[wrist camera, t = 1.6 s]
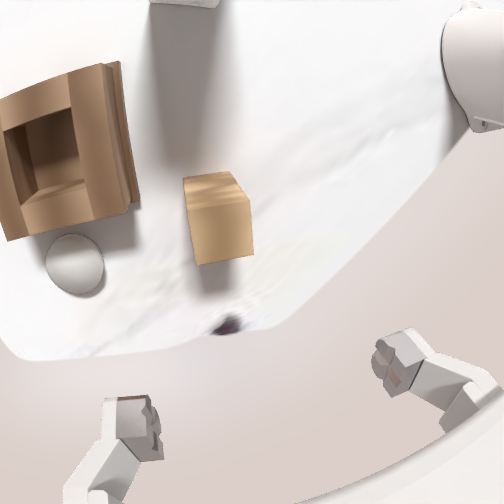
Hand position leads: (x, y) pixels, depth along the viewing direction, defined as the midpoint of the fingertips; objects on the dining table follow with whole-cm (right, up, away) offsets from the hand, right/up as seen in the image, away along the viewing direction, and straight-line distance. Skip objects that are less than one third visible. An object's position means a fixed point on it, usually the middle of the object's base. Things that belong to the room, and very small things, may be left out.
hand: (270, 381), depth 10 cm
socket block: (-17, +13, +12) cm, 24 cm away
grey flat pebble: (-18, +3, +17) cm, 25 cm away
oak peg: (-4, +9, +17) cm, 20 cm away
